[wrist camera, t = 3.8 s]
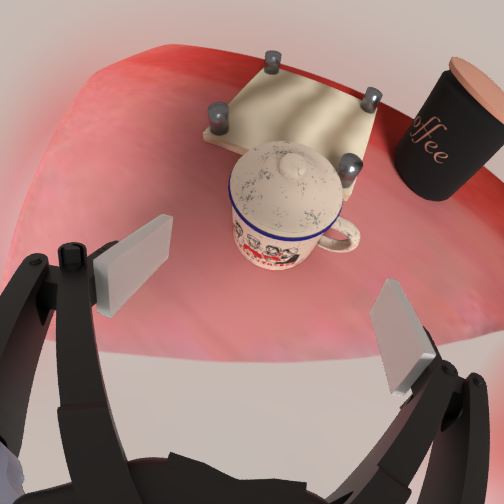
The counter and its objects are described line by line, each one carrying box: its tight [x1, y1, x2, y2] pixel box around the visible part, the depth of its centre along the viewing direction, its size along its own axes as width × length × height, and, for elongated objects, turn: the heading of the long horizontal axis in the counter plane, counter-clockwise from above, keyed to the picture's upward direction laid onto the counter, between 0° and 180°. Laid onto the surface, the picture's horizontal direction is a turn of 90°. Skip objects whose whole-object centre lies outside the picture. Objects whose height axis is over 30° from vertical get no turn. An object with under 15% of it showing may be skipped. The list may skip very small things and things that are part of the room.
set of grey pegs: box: [208, 51, 382, 188], centre depth 32 cm, size 18×18×4 cm
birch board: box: [203, 68, 377, 202], centre depth 34 cm, size 19×19×2 cm
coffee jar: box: [395, 57, 504, 201], centre depth 25 cm, size 11×11×18 cm
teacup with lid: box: [228, 141, 360, 270], centre depth 24 cm, size 12×9×12 cm
